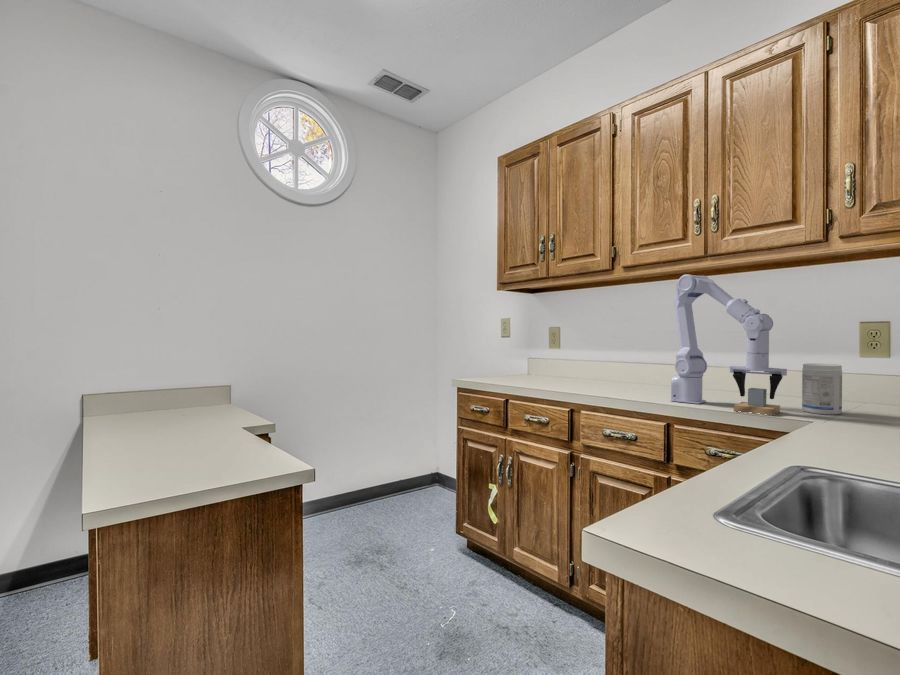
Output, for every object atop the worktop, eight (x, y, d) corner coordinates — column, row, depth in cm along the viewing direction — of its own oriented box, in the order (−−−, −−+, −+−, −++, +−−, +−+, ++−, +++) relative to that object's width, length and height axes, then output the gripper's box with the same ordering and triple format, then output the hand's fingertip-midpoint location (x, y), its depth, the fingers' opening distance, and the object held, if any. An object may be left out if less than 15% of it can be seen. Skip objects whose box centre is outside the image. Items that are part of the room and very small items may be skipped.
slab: (733, 411, 142) (733, 405, 142) (742, 407, 149) (742, 401, 149) (772, 416, 135) (772, 409, 135) (780, 411, 142) (780, 405, 142)
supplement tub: (817, 409, 146) (818, 363, 146) (850, 414, 137) (851, 365, 137) (793, 410, 144) (794, 363, 144) (825, 416, 135) (826, 365, 135)
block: (747, 405, 142) (747, 388, 142) (751, 403, 145) (751, 387, 144) (763, 406, 139) (763, 390, 139) (766, 405, 142) (766, 389, 142)
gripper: (789, 353, 139) (788, 398, 139) (734, 351, 149) (733, 393, 150) (784, 354, 134) (783, 401, 134) (727, 352, 144) (727, 395, 145)
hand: (757, 397), depth 142 cm, fingers open, 7 cm apart
